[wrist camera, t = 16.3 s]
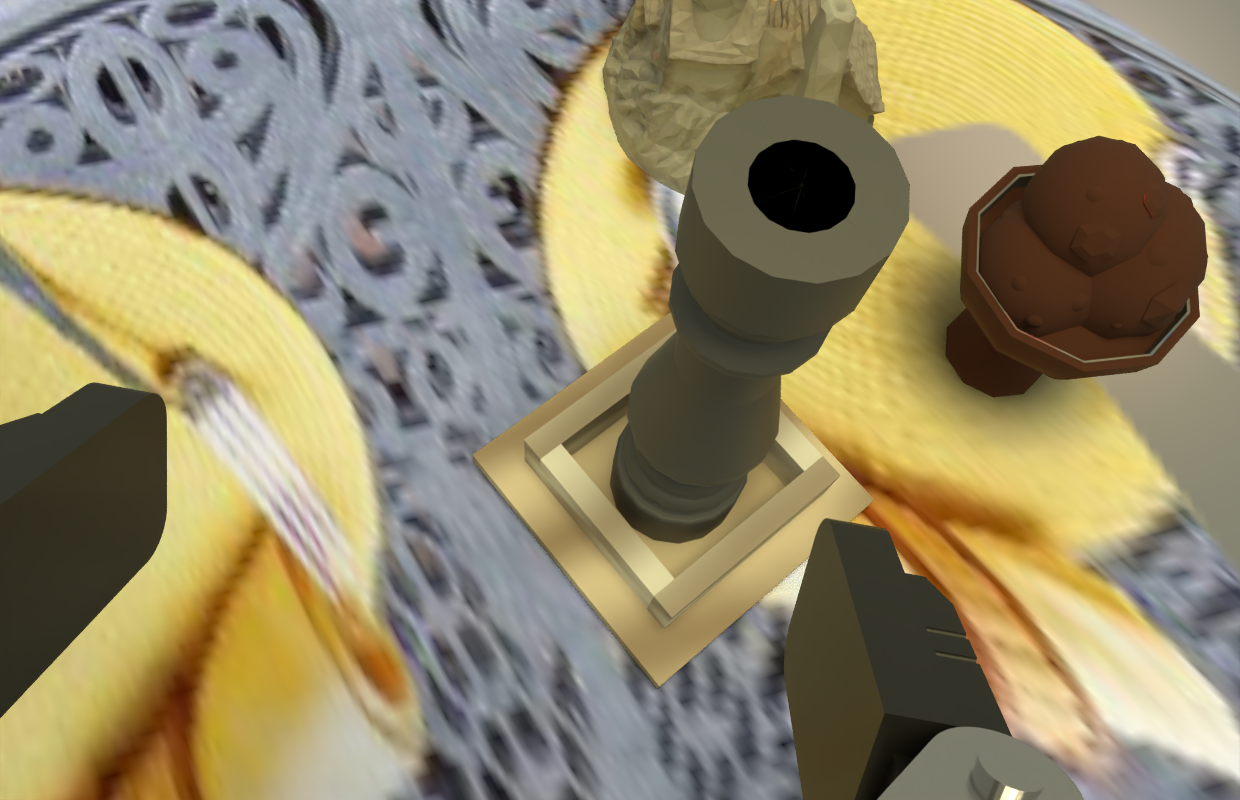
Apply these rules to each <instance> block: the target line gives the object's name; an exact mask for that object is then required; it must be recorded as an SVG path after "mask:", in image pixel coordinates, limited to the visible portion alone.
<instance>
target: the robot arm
mask: <svg viewBox="0 0 1240 800" xmlns="http://www.w3.org/2000/svg"><path fill="white" fill-rule="evenodd" d="M166 514H167V414H166V407H165V404H164V401H163V399H162V398H161V397H160V396H159V395H158V394H155V393H150V392H144V391H139V390H133V389H128V388H122V387H117V386H111V385H106V384H100V383H89V384H87V385H86V386H84V387H82V388H81V389H79V390H78V391H76V392H75V393H73V394H72V395H70V396H69V397H67V398H66V399H64V400H63V401H61V402H60V403H58V404H56V405H55V406H53V407H52V408H50V409H49V410H47V411H46V412H44V413H43V414H39V413H37V414H34V415H30V416H27V417H24V418H21V419H18V420H15V421H12V422H8V423H5V424H2V425H0V718H1V717H2V716H3V715H4V714H5V713H6V711H7V710H8V709H9V708H10V707H11V706H12V705H13V704H14V703H15V702H16V701H17V700H18V699H19V698H20V697H21V696H22V695H23V693H24V692H25V691H26V690H27V689H28V688H29V687H30V686H31V685H32V684H33V683H34V682H35V681H36V680H37V679H38V678H39V676H40V675H41V674H42V673H43V672H44V671H45V670H46V669H47V668H48V667H49V666H50V665H51V664H52V663H53V662H54V661H55V659H56V658H57V657H58V656H59V655H60V654H61V653H62V652H63V651H64V650H65V649H66V648H67V647H68V646H69V645H70V644H71V642H72V641H73V640H74V639H75V638H76V637H77V636H78V635H79V634H80V633H81V632H82V631H83V630H84V629H85V628H86V627H87V626H88V624H89V623H90V622H91V621H92V620H93V619H94V618H95V617H96V616H97V615H98V614H99V613H100V612H101V611H102V610H103V609H104V607H105V606H106V605H107V604H108V603H109V602H110V601H111V600H112V599H113V598H114V597H115V596H116V595H117V594H118V593H119V592H120V590H121V589H122V588H123V587H124V586H125V585H126V584H127V583H128V582H129V581H130V580H131V579H132V578H133V577H134V576H135V575H136V574H137V572H138V571H139V570H140V569H141V568H142V567H143V566H144V565H145V564H146V563H147V562H148V561H149V559H150V558H151V557H152V555H153V554H154V552H155V550H156V548H157V546H158V544H159V542H160V539H161V536H162V533H163V530H164V526H165V521H166ZM965 637H966V632H965V630H964V628H963V626H962V624H961V621H960V619H959V617H958V615H957V612H956V610H955V608H954V606H953V604H952V603H951V602H950V601H949V600H948V599H947V598H946V597H945V596H944V595H943V594H942V593H941V592H940V591H939V590H938V589H937V588H936V587H935V586H934V585H933V584H932V583H931V582H930V581H929V580H928V579H927V578H926V577H923V576H918V575H912V574H907V573H905V572H904V570H903V567H902V565H901V562H900V559H899V557H898V554H897V552H896V549H895V547H894V544H893V541H892V539H891V536H890V534H889V532H888V531H887V530H886V529H884V528H879V527H873V526H868V525H862V524H857V523H851V522H846V521H840V520H835V519H829V518H825V519H824V520H823V521H822V522H821V524H820V525H819V528H818V530H817V533H816V536H815V539H814V542H813V546H812V549H811V553H810V556H809V559H808V563H807V566H806V570H805V573H804V577H803V580H802V584H801V587H800V591H799V594H798V597H797V601H796V604H795V608H794V611H793V615H792V618H791V622H790V625H789V630H788V634H787V640H786V647H785V658H784V675H785V683H786V690H787V696H788V703H789V709H790V716H791V723H792V729H793V736H794V742H795V749H796V756H797V762H798V769H799V775H800V782H801V788H802V795H803V800H1084V799H1083V797H1082V794H1081V792H1080V791H1079V789H1078V788H1077V786H1076V785H1075V783H1074V782H1073V781H1072V780H1071V779H1070V777H1069V776H1068V775H1067V774H1066V773H1065V772H1064V771H1063V770H1062V769H1061V768H1060V767H1059V766H1058V765H1057V764H1056V763H1054V762H1053V761H1052V760H1051V759H1049V758H1048V757H1047V756H1045V755H1044V754H1043V753H1041V752H1039V751H1038V750H1036V749H1035V748H1033V747H1032V746H1030V745H1028V744H1026V743H1024V742H1022V741H1020V740H1018V739H1016V738H1013V737H1012V735H1011V733H1010V731H1009V729H1008V727H1007V724H1006V722H1005V720H1004V718H1003V715H1002V713H1001V711H1000V709H999V706H998V704H997V702H996V700H995V697H994V695H993V693H992V691H991V688H990V686H989V684H988V682H987V679H986V677H985V675H984V673H983V671H982V668H981V666H980V664H976V659H977V657H976V655H975V653H974V650H973V648H972V646H971V644H970V641H969V640H968V639H965Z"/></svg>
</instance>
